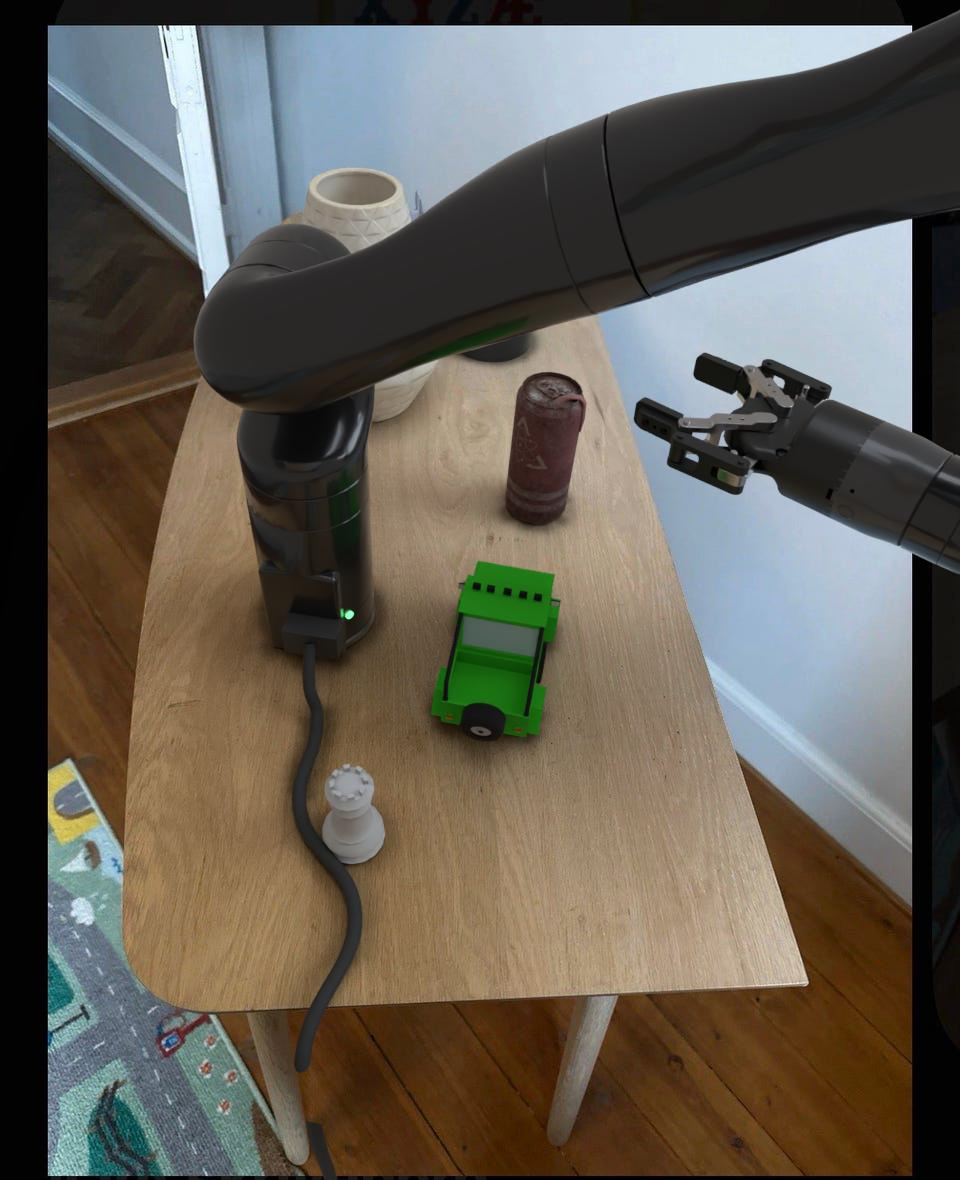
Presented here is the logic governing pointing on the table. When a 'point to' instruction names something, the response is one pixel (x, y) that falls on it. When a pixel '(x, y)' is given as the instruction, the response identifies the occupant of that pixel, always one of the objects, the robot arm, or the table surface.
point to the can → (543, 446)
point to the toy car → (498, 653)
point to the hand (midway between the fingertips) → (667, 386)
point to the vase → (360, 219)
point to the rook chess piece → (352, 816)
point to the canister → (501, 349)
